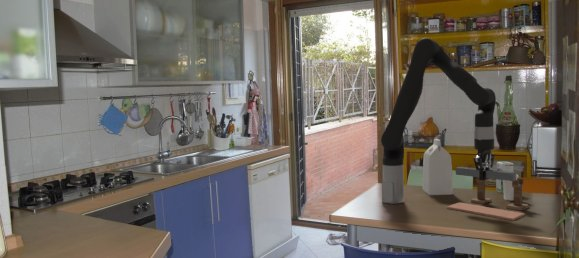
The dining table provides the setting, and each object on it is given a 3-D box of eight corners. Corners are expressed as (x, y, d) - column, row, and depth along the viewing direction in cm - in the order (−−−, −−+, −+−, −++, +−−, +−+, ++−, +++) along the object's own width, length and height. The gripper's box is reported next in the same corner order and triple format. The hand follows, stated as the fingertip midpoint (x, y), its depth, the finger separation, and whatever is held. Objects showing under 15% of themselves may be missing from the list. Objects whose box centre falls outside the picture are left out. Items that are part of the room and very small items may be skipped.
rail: (512, 181, 185) (512, 173, 184) (455, 174, 203) (455, 167, 202) (516, 180, 186) (516, 172, 186) (459, 173, 205) (459, 166, 204)
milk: (453, 194, 228) (453, 140, 226) (429, 195, 228) (428, 141, 226) (445, 189, 240) (445, 137, 238) (422, 189, 240) (422, 138, 238)
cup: (502, 200, 214) (502, 176, 213) (501, 197, 220) (502, 173, 219) (518, 201, 211) (518, 176, 210) (517, 197, 217) (517, 174, 216)
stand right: (521, 210, 196) (521, 181, 195) (506, 208, 200) (506, 179, 199) (528, 207, 200) (528, 178, 199) (514, 205, 205) (514, 177, 204)
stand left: (483, 204, 208) (483, 176, 207) (470, 202, 212) (470, 175, 211) (491, 201, 212) (491, 174, 211) (478, 199, 217) (478, 172, 216)
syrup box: (495, 191, 232) (495, 161, 231) (507, 190, 232) (507, 161, 231) (501, 193, 226) (502, 163, 225) (513, 193, 227) (514, 162, 225)
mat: (513, 220, 182) (513, 218, 182) (446, 208, 203) (446, 206, 203) (524, 215, 188) (524, 213, 188) (459, 204, 209) (459, 202, 209)
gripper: (483, 135, 201) (484, 176, 202) (466, 138, 191) (467, 181, 193) (501, 136, 195) (501, 177, 196) (484, 139, 186) (485, 183, 187)
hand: (484, 179), depth 195 cm, fingers closed on rail, 3 cm apart
